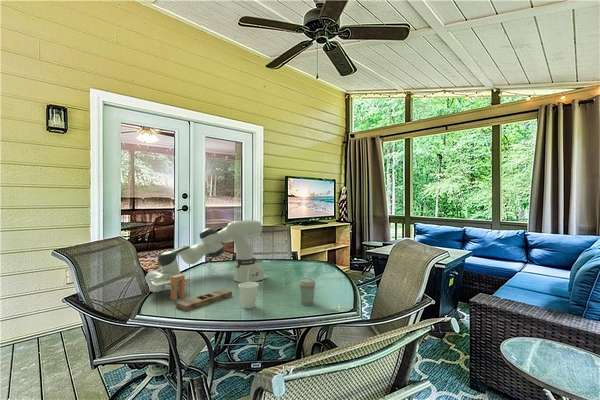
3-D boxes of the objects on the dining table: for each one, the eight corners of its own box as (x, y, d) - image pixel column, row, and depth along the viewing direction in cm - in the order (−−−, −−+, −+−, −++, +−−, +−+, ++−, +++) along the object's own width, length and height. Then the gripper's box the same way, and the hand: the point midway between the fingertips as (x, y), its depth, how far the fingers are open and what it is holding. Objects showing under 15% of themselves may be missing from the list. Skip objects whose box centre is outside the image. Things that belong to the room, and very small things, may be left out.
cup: (254, 311, 141) (254, 288, 141) (234, 309, 143) (235, 286, 143) (261, 304, 151) (261, 282, 151) (242, 302, 153) (243, 281, 152)
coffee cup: (310, 307, 146) (310, 283, 146) (295, 304, 150) (295, 280, 150) (318, 302, 153) (318, 279, 153) (304, 299, 158) (304, 277, 158)
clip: (180, 296, 162) (180, 274, 162) (184, 297, 160) (184, 275, 160) (170, 299, 157) (170, 276, 157) (174, 300, 155) (174, 277, 155)
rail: (222, 293, 167) (222, 288, 167) (231, 296, 162) (231, 291, 162) (176, 307, 145) (176, 302, 145) (185, 311, 140) (185, 306, 140)
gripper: (181, 283, 175) (195, 287, 166) (146, 291, 158) (160, 296, 150) (181, 272, 175) (195, 276, 166) (146, 279, 158) (160, 284, 150)
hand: (178, 286), depth 158 cm, fingers closed on clip, 6 cm apart
